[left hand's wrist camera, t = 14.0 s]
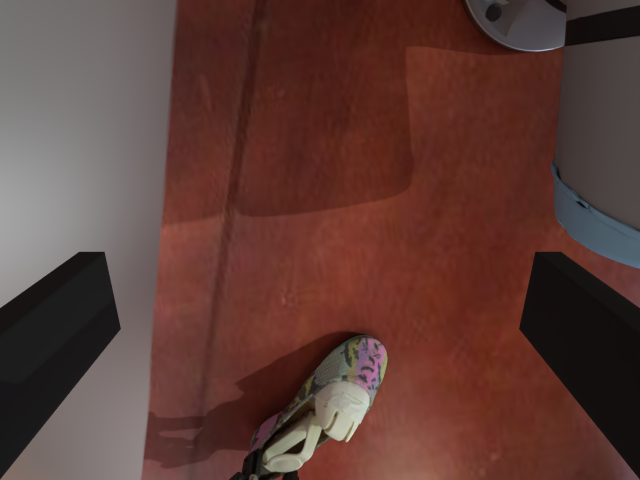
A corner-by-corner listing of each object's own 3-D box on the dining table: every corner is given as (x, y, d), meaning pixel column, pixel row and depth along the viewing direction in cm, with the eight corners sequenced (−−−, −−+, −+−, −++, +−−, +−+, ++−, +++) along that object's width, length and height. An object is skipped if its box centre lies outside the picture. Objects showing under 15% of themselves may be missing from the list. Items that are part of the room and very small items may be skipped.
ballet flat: (407, 358, 51) (419, 408, 43) (283, 463, 58) (274, 523, 49) (358, 318, 49) (361, 361, 41) (237, 430, 56) (219, 487, 48)
